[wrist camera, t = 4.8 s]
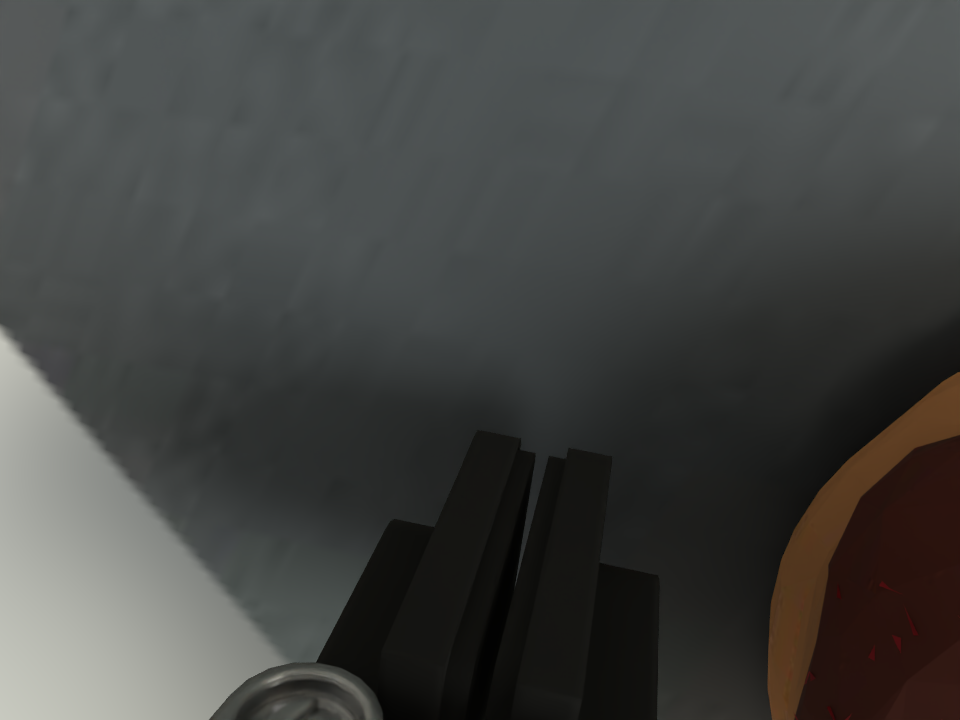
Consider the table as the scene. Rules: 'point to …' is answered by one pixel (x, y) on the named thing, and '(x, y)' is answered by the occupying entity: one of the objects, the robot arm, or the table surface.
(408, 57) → the table surface
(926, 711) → the donut
